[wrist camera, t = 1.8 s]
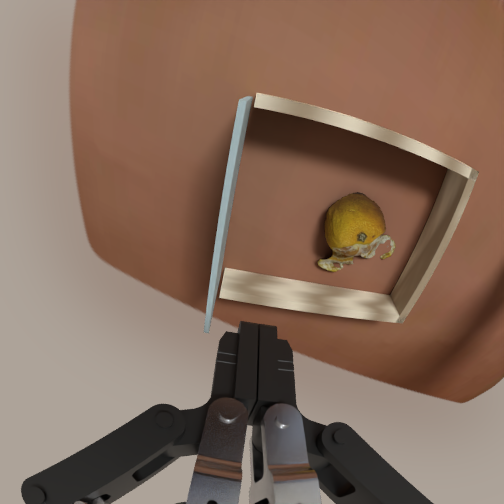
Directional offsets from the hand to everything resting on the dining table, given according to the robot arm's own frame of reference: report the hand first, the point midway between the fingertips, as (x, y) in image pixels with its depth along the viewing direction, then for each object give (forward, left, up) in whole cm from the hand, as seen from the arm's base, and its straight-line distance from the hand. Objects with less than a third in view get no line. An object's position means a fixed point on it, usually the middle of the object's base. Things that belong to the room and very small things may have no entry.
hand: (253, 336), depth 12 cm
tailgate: (+2, 0, -15) cm, 15 cm away
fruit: (-9, +2, -16) cm, 19 cm away
